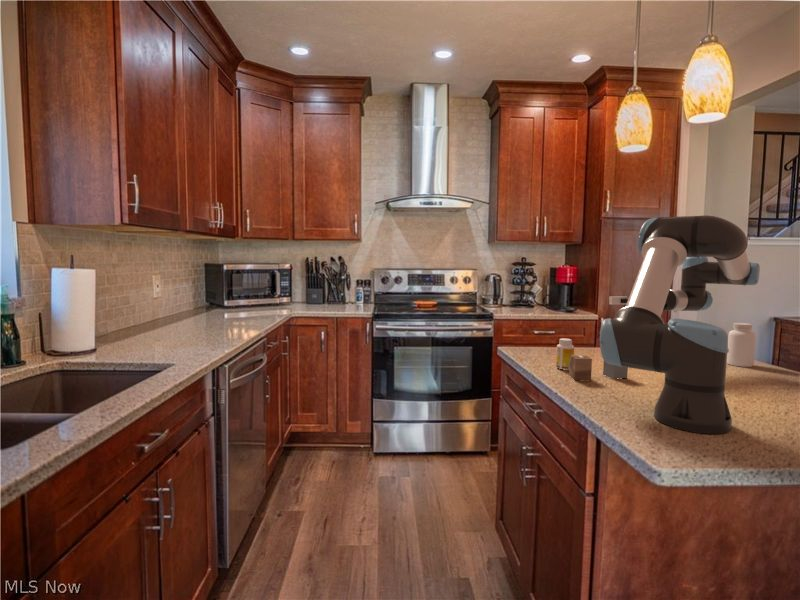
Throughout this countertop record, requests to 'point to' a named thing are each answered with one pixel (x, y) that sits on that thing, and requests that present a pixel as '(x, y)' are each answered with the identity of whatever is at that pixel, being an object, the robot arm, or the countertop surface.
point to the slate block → (614, 371)
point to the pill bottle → (741, 345)
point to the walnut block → (580, 367)
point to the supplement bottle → (564, 353)
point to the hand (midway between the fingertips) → (610, 300)
